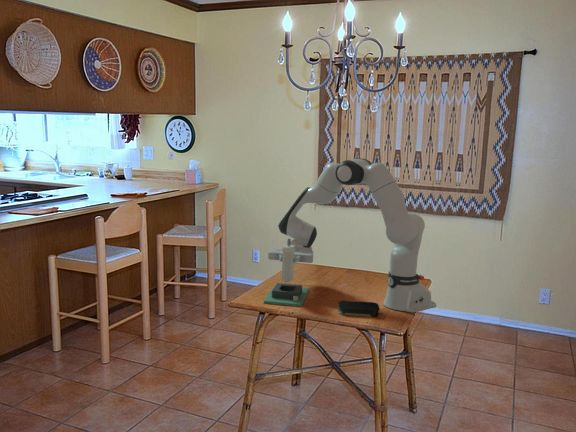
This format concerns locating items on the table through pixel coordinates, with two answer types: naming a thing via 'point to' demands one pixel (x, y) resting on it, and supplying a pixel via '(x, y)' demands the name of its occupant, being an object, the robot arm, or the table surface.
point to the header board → (287, 295)
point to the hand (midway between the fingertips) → (288, 260)
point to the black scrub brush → (358, 308)
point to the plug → (288, 262)
